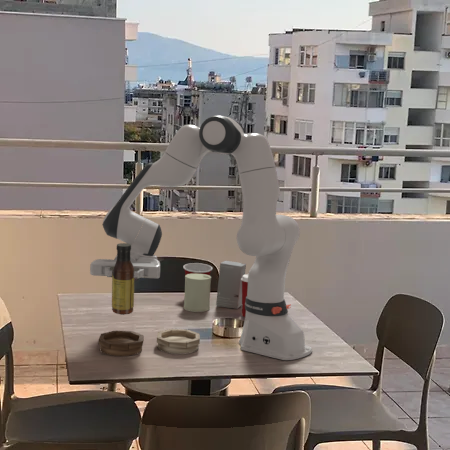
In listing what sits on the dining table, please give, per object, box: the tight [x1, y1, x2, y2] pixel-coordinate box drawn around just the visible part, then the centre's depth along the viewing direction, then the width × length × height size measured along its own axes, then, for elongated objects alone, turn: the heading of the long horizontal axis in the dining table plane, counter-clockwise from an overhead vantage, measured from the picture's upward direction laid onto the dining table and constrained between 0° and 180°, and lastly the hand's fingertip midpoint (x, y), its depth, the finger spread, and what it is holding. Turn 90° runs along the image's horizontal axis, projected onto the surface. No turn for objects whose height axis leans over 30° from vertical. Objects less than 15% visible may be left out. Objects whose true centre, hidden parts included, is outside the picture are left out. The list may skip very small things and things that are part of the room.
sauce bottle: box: [111, 242, 135, 316], centre depth 206 cm, size 7×6×20 cm
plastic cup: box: [183, 262, 213, 276], centre depth 268 cm, size 11×11×12 cm
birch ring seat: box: [156, 328, 201, 355], centre depth 213 cm, size 12×12×4 cm
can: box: [183, 274, 212, 313], centre depth 254 cm, size 9×9×12 cm
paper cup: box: [241, 273, 249, 318], centre depth 248 cm, size 8×8×14 cm
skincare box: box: [215, 260, 247, 310], centre depth 259 cm, size 8×7×16 cm
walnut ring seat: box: [98, 330, 145, 357], centre depth 208 cm, size 12×12×4 cm
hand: (122, 275), depth 204 cm, fingers closed on sauce bottle, 6 cm apart
